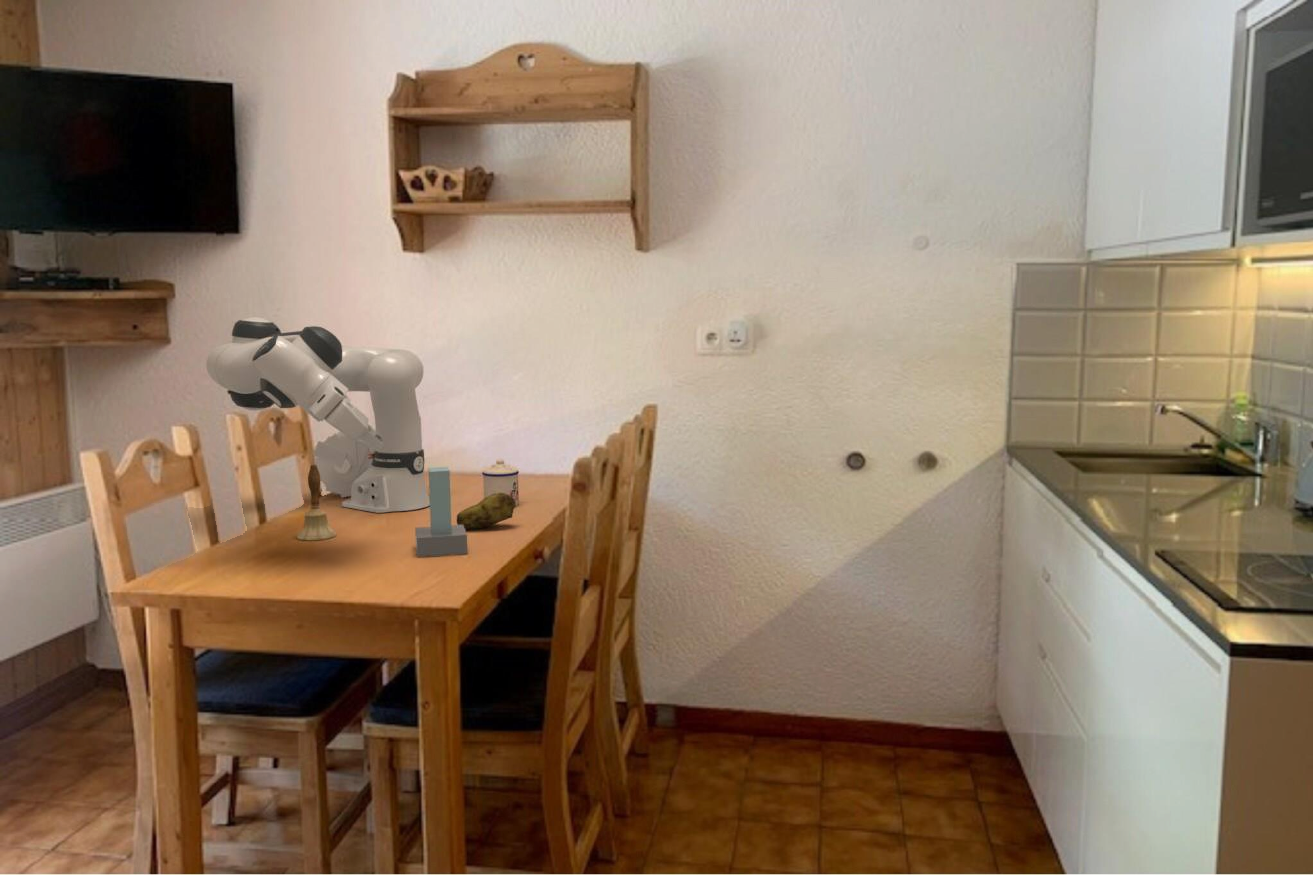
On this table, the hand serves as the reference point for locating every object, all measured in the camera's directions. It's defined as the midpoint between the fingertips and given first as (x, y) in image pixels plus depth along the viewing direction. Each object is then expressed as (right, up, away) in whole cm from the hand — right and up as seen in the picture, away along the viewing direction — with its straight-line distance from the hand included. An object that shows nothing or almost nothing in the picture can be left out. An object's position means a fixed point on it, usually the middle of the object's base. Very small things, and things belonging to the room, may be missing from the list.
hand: (381, 445), depth 213 cm
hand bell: (-19, -21, +17) cm, 33 cm away
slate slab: (+11, -22, +4) cm, 25 cm away
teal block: (+12, -18, +4) cm, 22 cm away
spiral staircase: (-25, -13, +70) cm, 75 cm away
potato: (+18, -19, +24) cm, 36 cm away
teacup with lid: (+17, -16, +51) cm, 56 cm away
